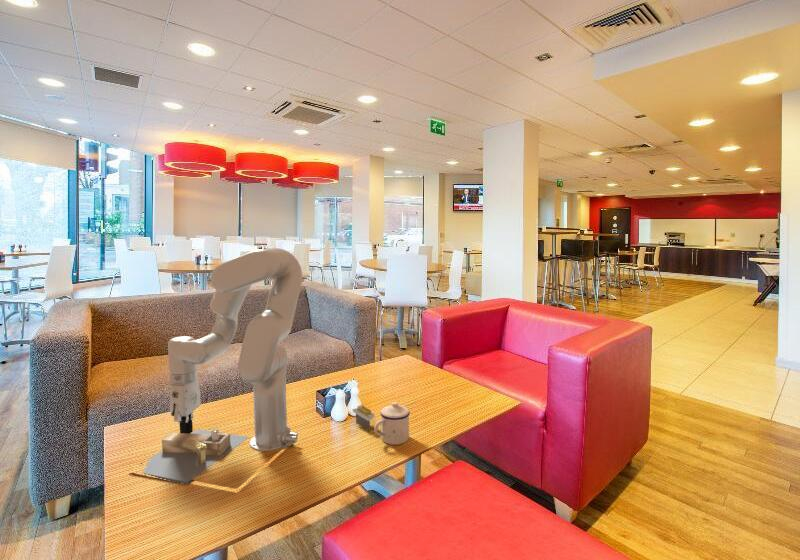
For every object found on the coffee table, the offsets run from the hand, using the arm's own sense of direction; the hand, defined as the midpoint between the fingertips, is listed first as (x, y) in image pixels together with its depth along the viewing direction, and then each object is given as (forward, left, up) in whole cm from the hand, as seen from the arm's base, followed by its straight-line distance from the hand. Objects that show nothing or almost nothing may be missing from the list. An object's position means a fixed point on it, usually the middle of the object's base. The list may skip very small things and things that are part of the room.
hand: (186, 432), depth 130 cm
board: (-10, +7, -2) cm, 12 cm away
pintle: (-15, +4, -2) cm, 16 cm away
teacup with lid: (-62, -17, -2) cm, 65 cm away
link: (-9, +6, -1) cm, 11 cm away
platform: (-51, -24, -3) cm, 56 cm away
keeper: (-14, +11, -1) cm, 18 cm away
